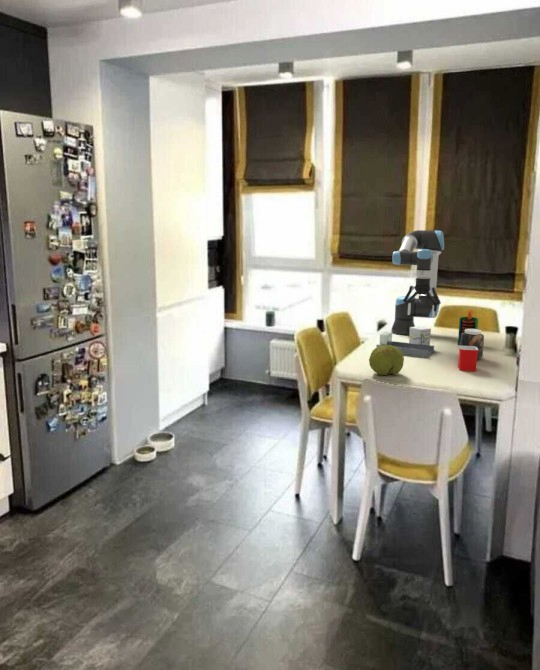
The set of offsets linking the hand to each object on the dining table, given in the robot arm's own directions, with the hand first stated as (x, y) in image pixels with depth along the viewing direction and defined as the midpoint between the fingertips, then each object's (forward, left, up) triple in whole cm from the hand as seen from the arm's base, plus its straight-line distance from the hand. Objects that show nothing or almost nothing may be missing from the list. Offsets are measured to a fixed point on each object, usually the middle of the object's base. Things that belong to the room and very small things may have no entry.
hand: (420, 315), depth 321 cm
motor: (-21, +22, -18) cm, 36 cm away
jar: (+10, +30, -18) cm, 37 cm away
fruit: (+61, +1, -18) cm, 64 cm away
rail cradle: (+14, -4, -18) cm, 23 cm away
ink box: (0, 0, -18) cm, 19 cm away
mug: (+31, +32, -18) cm, 48 cm away
